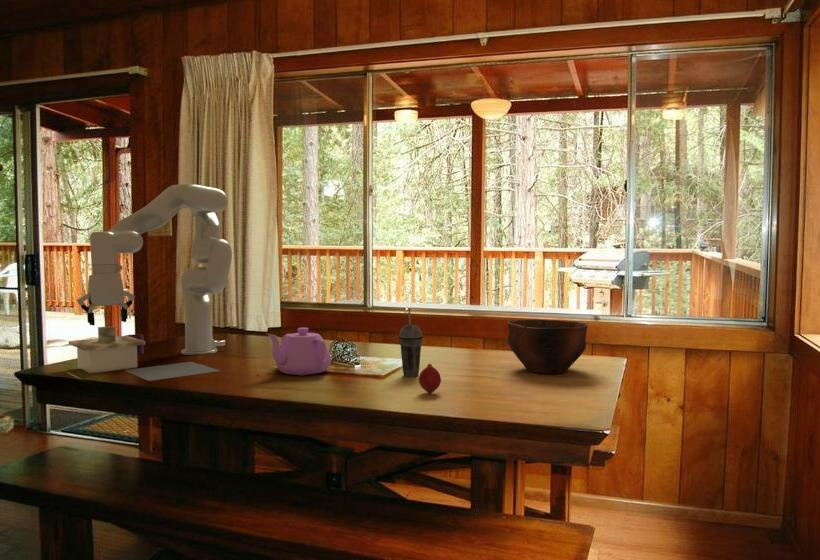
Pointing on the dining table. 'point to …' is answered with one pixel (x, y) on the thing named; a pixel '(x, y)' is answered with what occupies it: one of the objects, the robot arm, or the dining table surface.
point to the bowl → (547, 343)
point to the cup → (139, 347)
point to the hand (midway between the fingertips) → (108, 323)
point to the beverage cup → (410, 348)
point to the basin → (107, 359)
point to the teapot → (301, 353)
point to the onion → (429, 379)
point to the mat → (170, 371)
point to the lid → (106, 340)
